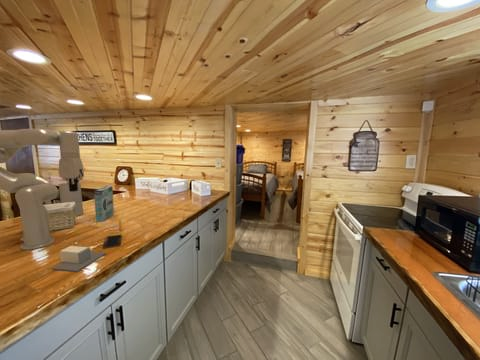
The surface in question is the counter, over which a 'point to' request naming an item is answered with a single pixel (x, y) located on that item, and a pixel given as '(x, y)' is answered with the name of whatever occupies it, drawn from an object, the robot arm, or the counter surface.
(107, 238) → the phone
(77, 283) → the counter surface
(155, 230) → the counter surface
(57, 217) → the storage basket
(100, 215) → the teal rectangular box
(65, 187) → the tall grey box
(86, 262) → the mat
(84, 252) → the block
